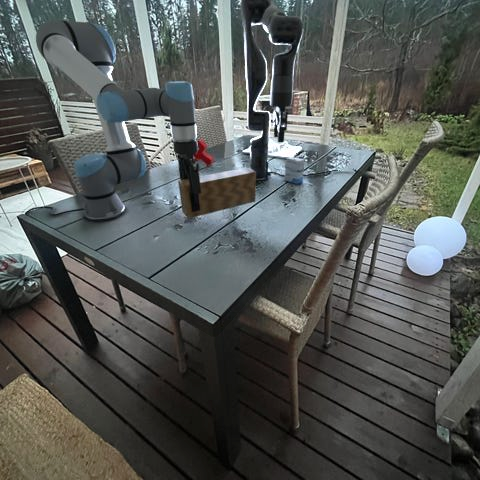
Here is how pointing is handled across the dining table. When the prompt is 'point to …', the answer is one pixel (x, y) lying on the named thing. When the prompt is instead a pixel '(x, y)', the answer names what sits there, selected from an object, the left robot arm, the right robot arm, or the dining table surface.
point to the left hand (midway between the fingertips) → (192, 206)
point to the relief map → (280, 150)
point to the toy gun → (203, 153)
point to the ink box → (294, 170)
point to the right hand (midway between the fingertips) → (278, 139)
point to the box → (220, 191)
